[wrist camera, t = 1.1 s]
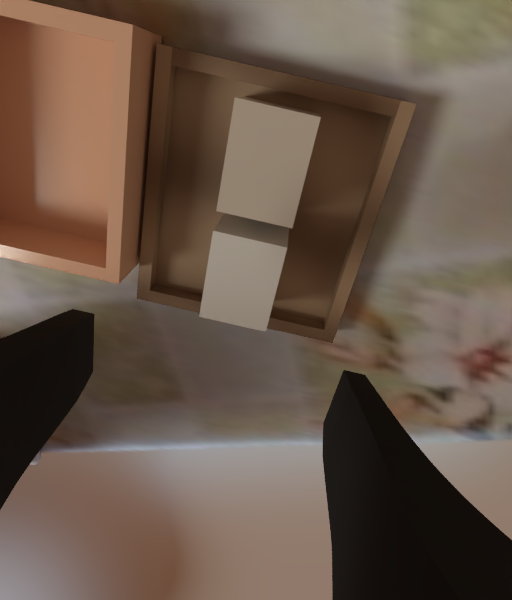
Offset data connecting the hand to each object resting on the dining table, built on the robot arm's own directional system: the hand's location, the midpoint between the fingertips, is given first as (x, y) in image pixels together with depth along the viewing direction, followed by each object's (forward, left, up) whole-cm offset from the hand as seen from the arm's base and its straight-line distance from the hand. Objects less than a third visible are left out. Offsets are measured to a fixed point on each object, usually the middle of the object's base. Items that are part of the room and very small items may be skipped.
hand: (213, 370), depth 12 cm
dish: (+3, +9, -9) cm, 13 cm away
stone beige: (+5, 0, -9) cm, 10 cm away
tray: (+2, 0, -9) cm, 10 cm away
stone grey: (0, 0, -9) cm, 9 cm away
